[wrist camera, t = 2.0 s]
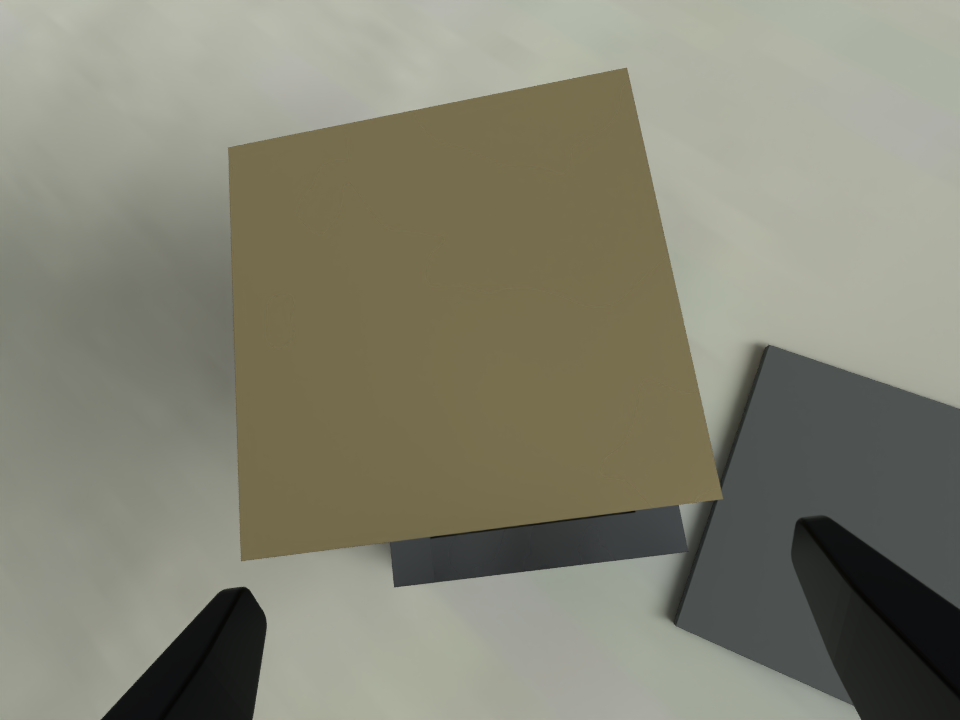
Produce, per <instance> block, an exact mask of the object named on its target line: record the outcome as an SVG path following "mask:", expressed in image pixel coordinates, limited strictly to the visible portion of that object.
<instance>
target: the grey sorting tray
mask: <svg viewBox="0 0 960 720" xmlns="http://www.w3.org/2000/svg"><path fill="white" fill-rule="evenodd" d="M390 546H391V558H392V569H393V580H394V587H401V586H409V585H418V584H426V583H434V582H442V581H451V580H459V579H467V578H476V577H484V576H492V575H500V574H509V573H517V572H525V571H533V570H542V569H550V568H558V567H566V566H575V565H583V564H591V563H600V562H608V561H616V560H624V559H633V558H641V557H649V556H657V555H666V554H674V553H682V552H688V548H687V543H686V539H685V534H684V529H683V524H682V519H681V514H680V509H679V505H673V506H666V507H658V508H650V509H642V510H635V511H627V512H619V513H611V514H603V515H596V516H588V517H580V518H572V519H565V520H557V521H549V522H541V523H534V524H526V525H518V526H510V527H502V528H495V529H487V530H479V531H471V532H464V533H456V534H448V535H440V536H432V537H425V538H417V539H409V540H401V541H394V542H390Z"/></svg>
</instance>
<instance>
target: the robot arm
mask: <svg viewBox="0 0 960 720" xmlns="http://www.w3.org/2000/svg"><path fill="white" fill-rule="evenodd" d="M791 559H792V563H793V567H794V569H795V572H796V574H797V577H798V579H799V582H800V584H801V587H802V589H803V592H804V594H805V597H806V600H807V602H808V605H809V607H810V610H811V612H812V615H813V617H814V620H815V622H816V625H817V627H818V630H819V632H820V635H821V637H822V640H823V642H824V645H825V647H826V650H827V652H828V654H829V657H830V659H831V661H832V664H833V666H834V668H835V670H836V672H837V674H838V676H839V678H840V680H841V682H842V684H843V686H844V688H845V690H846V691H847V693H848V695H849V697H850V699H851V701H852V703H853V705H854V707H855V709H856V711H857V712H858V714H859V716H860V718H861V720H960V609H959V608H958V607H956V606H955V605H954V604H952V603H951V602H949V601H948V600H947V599H945V598H944V597H942V596H941V595H939V594H938V593H937V592H935V591H934V590H932V589H931V588H929V587H928V586H927V585H925V584H924V583H922V582H921V581H920V580H918V579H917V578H915V577H914V576H912V575H911V574H910V573H908V572H907V571H905V570H904V569H902V568H901V567H900V566H898V565H897V564H895V563H894V562H893V561H891V560H890V559H888V558H887V557H885V556H884V555H883V554H881V553H880V552H878V551H877V550H876V549H874V548H873V547H871V546H870V545H868V544H867V543H866V542H864V541H863V540H861V539H860V538H858V537H857V536H856V535H854V534H853V533H851V532H850V531H849V530H847V529H846V528H844V527H843V526H841V525H840V524H839V523H837V522H836V521H834V520H833V519H831V518H830V517H828V516H825V515H816V516H808V517H801V518H799V519H798V520H797V521H796V524H795V529H794V535H793V541H792V548H791ZM266 629H267V622H266V617H265V614H264V612H263V610H262V609H261V607H260V606H259V604H258V602H257V601H256V599H255V598H254V596H253V594H252V593H251V591H250V590H249V589H248V588H246V587H237V588H229V589H224V590H222V591H220V592H219V593H218V594H217V595H216V596H215V597H214V598H213V599H212V600H211V601H210V602H209V603H208V605H207V606H206V607H205V608H204V609H203V610H202V611H201V612H200V613H199V614H198V615H197V616H196V618H195V619H194V620H193V621H192V622H191V623H190V624H189V625H188V626H187V627H186V628H185V629H184V630H183V632H182V633H181V634H180V635H179V636H178V637H177V638H176V639H175V640H174V641H173V642H172V643H171V645H170V646H169V647H168V648H167V649H166V650H165V651H164V652H163V653H162V654H161V655H160V656H159V657H158V659H157V660H156V661H155V662H154V663H153V664H152V665H151V666H150V667H149V668H148V669H147V670H146V672H145V673H144V674H143V675H142V676H141V677H140V678H139V679H138V680H137V681H136V682H135V683H134V684H133V686H132V687H131V688H130V689H129V690H128V691H127V692H126V693H125V694H124V695H123V696H122V697H121V699H120V700H119V701H118V702H117V703H116V704H115V705H114V706H113V707H112V708H111V709H110V710H109V711H108V713H107V714H106V715H105V716H104V717H103V718H102V719H101V720H252V719H253V713H254V708H255V702H256V695H257V688H258V682H259V675H260V669H261V662H262V656H263V649H264V643H265V636H266Z"/></svg>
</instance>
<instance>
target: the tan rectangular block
mask: <svg viewBox="0 0 960 720" xmlns="http://www.w3.org/2000/svg"><path fill="white" fill-rule="evenodd" d="M228 153H229V185H230V218H231V251H232V283H233V316H234V349H235V381H236V414H237V447H238V479H239V512H240V545H241V561H246V560H254V559H262V558H269V557H277V556H285V555H293V554H300V553H308V552H316V551H324V550H331V549H339V548H347V547H355V546H363V545H370V544H378V543H386V542H394V541H401V540H409V539H417V538H425V537H432V536H440V535H448V534H456V533H464V532H471V531H479V530H487V529H495V528H502V527H510V526H518V525H526V524H534V523H541V522H549V521H557V520H565V519H572V518H580V517H588V516H596V515H603V514H611V513H619V512H627V511H635V510H642V509H650V508H658V507H666V506H673V505H681V504H689V503H697V502H704V501H712V500H720V499H723V496H722V492H721V487H720V483H719V478H718V474H717V469H716V465H715V460H714V456H713V451H712V447H711V442H710V438H709V433H708V429H707V424H706V420H705V415H704V411H703V406H702V402H701V397H700V393H699V389H698V384H697V380H696V375H695V371H694V366H693V362H692V357H691V353H690V348H689V344H688V339H687V335H686V330H685V326H684V321H683V317H682V312H681V308H680V303H679V299H678V294H677V290H676V285H675V281H674V277H673V272H672V268H671V263H670V259H669V254H668V250H667V245H666V241H665V236H664V232H663V227H662V223H661V218H660V214H659V209H658V205H657V200H656V196H655V191H654V187H653V182H652V178H651V173H650V169H649V165H648V160H647V156H646V151H645V147H644V142H643V138H642V133H641V129H640V124H639V120H638V115H637V111H636V106H635V102H634V97H633V93H632V88H631V84H630V79H629V75H628V70H627V68H623V69H618V70H613V71H608V72H603V73H598V74H593V75H588V76H583V77H578V78H573V79H568V80H563V81H558V82H553V83H548V84H543V85H538V86H533V87H528V88H523V89H518V90H513V91H508V92H503V93H498V94H493V95H488V96H483V97H478V98H473V99H468V100H463V101H458V102H453V103H448V104H443V105H438V106H433V107H428V108H423V109H418V110H413V111H408V112H403V113H398V114H393V115H388V116H383V117H378V118H373V119H368V120H363V121H358V122H353V123H348V124H343V125H338V126H333V127H328V128H323V129H319V130H314V131H309V132H304V133H299V134H294V135H289V136H284V137H279V138H274V139H269V140H264V141H259V142H254V143H249V144H244V145H239V146H234V147H229V148H228Z"/></svg>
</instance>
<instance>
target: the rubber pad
mask: <svg viewBox="0 0 960 720" xmlns="http://www.w3.org/2000/svg"><path fill="white" fill-rule="evenodd" d="M720 487H721V492H722V496H723V499H720V500H715V501H714V504H713V507H712V510H711V513H710V516H709V519H708V522H707V525H706V528H705V531H704V534H703V537H702V540H701V543H700V546H699V549H698V552H697V555H696V558H695V561H694V564H693V567H692V570H691V573H690V576H689V579H688V582H687V585H686V588H685V591H684V594H683V597H682V600H681V603H680V606H679V609H678V612H677V615H676V618H675V621H674V624H675V625H676V626H677V627H679V628H681V629H684V630H686V631H688V632H690V633H693V634H695V635H697V636H699V637H702V638H704V639H706V640H708V641H711V642H713V643H715V644H717V645H720V646H722V647H724V648H726V649H728V650H731V651H733V652H735V653H737V654H740V655H742V656H744V657H746V658H749V659H751V660H753V661H755V662H758V663H760V664H762V665H764V666H766V667H769V668H771V669H773V670H775V671H778V672H780V673H782V674H784V675H787V676H789V677H791V678H793V679H796V680H798V681H800V682H802V683H805V684H807V685H809V686H811V687H813V688H816V689H818V690H820V691H822V692H825V693H827V694H829V695H831V696H834V697H836V698H838V699H840V700H843V701H845V702H847V703H849V704H851V705H853V703H852V701H851V699H850V697H849V695H848V693H847V691H846V690H845V688H844V686H843V684H842V682H841V680H840V678H839V676H838V674H837V672H836V670H835V668H834V666H833V664H832V661H831V659H830V657H829V654H828V652H827V650H826V647H825V645H824V642H823V640H822V637H821V635H820V632H819V630H818V627H817V625H816V622H815V620H814V617H813V615H812V612H811V610H810V607H809V605H808V602H807V600H806V597H805V594H804V592H803V589H802V587H801V584H800V582H799V579H798V577H797V574H796V572H795V569H794V567H793V563H792V559H791V548H792V541H793V535H794V529H795V524H796V521H797V520H798V519H799V518H801V517H808V516H816V515H825V516H828V517H830V518H831V519H833V520H834V521H836V522H837V523H839V524H840V525H841V526H843V527H844V528H846V529H847V530H849V531H850V532H851V533H853V534H854V535H856V536H857V537H858V538H860V539H861V540H863V541H864V542H866V543H867V544H868V545H870V546H871V547H873V548H874V549H876V550H877V551H878V552H880V553H881V554H883V555H884V556H885V557H887V558H888V559H890V560H891V561H893V562H894V563H895V564H897V565H898V566H900V567H901V568H902V569H904V570H905V571H907V572H908V573H910V574H911V575H912V576H914V577H915V578H917V579H918V580H920V581H921V582H922V583H924V584H925V585H927V586H928V587H929V588H931V589H932V590H934V591H935V592H937V593H938V594H939V595H941V596H942V597H944V598H945V599H947V600H948V601H949V602H951V603H952V604H954V605H955V606H956V607H958V608H959V609H960V409H958V408H955V407H952V406H949V405H946V404H943V403H940V402H937V401H934V400H931V399H928V398H925V397H922V396H919V395H916V394H913V393H910V392H907V391H905V390H902V389H899V388H896V387H893V386H890V385H887V384H884V383H881V382H878V381H875V380H872V379H869V378H866V377H863V376H860V375H857V374H854V373H851V372H848V371H845V370H842V369H839V368H836V367H833V366H830V365H828V364H825V363H822V362H819V361H816V360H813V359H810V358H807V357H804V356H801V355H798V354H795V353H792V352H789V351H786V350H783V349H780V348H777V347H774V346H771V345H769V346H767V347H766V348H765V351H764V354H763V357H762V360H761V363H760V366H759V369H758V372H757V375H756V378H755V381H754V384H753V387H752V390H751V393H750V396H749V399H748V402H747V405H746V408H745V411H744V414H743V417H742V420H741V423H740V426H739V429H738V432H737V435H736V438H735V441H734V444H733V447H732V450H731V453H730V456H729V459H728V462H727V465H726V468H725V471H724V474H723V477H722V480H721V483H720Z"/></svg>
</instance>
